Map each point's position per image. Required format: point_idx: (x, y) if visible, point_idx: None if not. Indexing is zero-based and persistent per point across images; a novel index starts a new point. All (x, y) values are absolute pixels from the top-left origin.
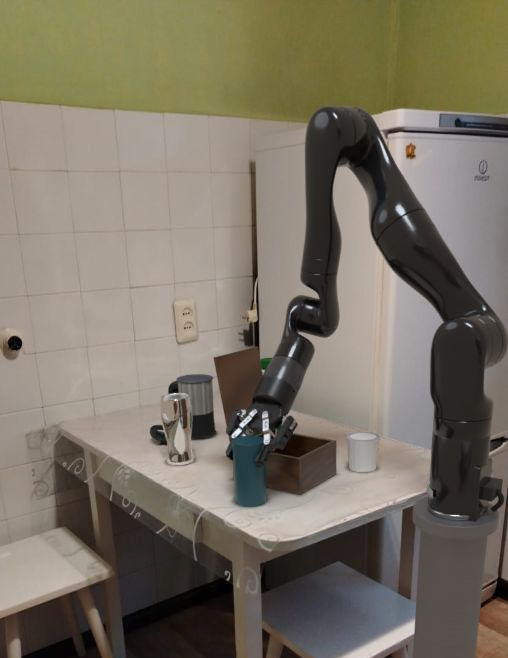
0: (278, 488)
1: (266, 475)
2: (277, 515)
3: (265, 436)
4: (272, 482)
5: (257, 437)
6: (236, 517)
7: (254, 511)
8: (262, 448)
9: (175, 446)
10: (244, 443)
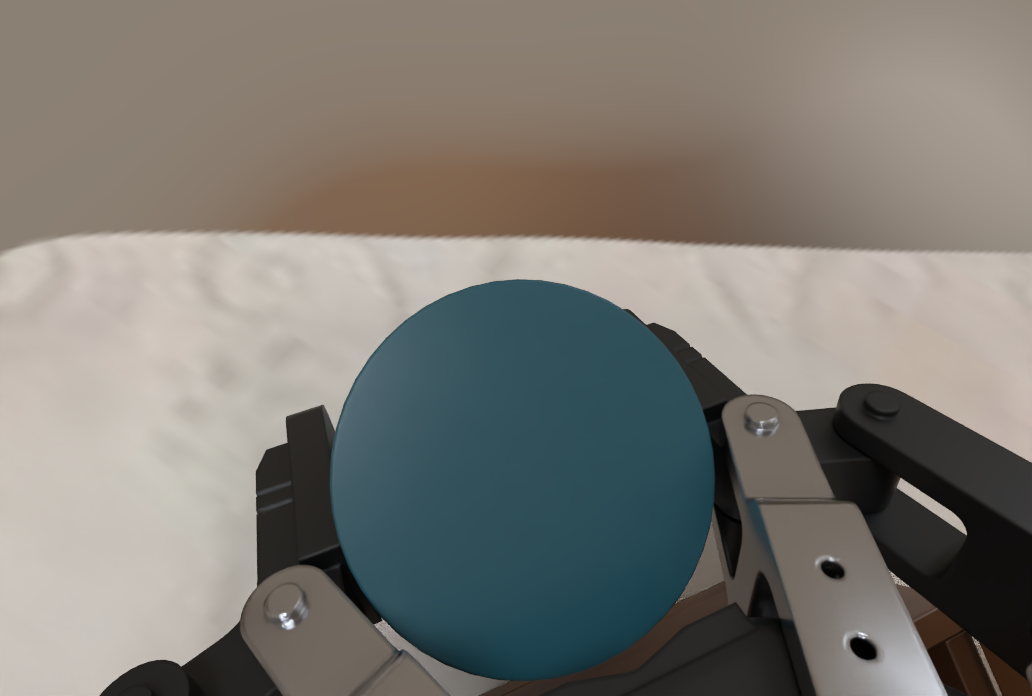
0: (496, 691)
1: (594, 676)
2: (196, 468)
3: (350, 646)
4: (542, 683)
5: (561, 625)
6: (329, 289)
7: (329, 400)
8: (302, 518)
9: None
10: (458, 362)
